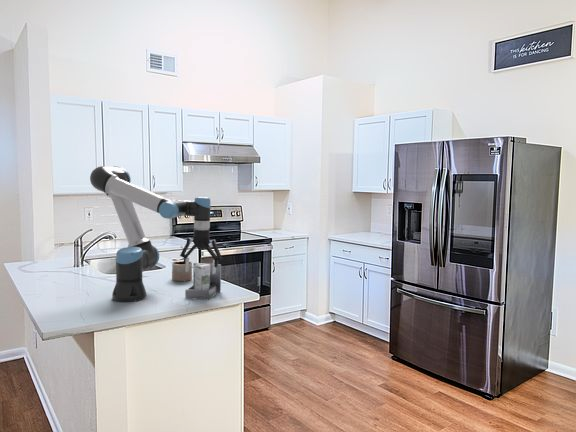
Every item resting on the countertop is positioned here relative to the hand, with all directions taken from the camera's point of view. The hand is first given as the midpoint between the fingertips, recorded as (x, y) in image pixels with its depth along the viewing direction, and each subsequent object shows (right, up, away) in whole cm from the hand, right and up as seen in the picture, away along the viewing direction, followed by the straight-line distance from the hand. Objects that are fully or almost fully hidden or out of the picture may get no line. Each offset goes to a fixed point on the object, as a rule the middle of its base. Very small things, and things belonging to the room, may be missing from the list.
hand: (200, 272), depth 222 cm
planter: (-17, -8, +33) cm, 37 cm away
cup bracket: (0, -11, +3) cm, 12 cm away
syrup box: (0, -11, +1) cm, 11 cm away
